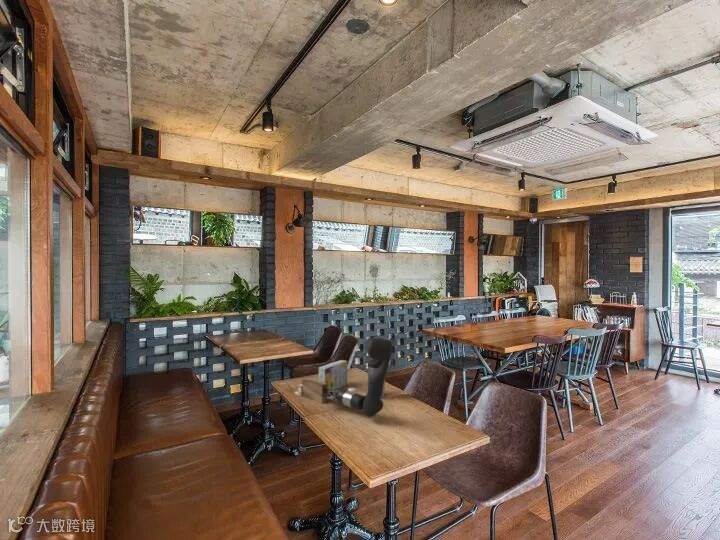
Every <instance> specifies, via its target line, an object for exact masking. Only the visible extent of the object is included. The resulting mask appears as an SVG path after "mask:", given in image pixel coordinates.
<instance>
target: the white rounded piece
mask: <svg viewBox="0 0 720 540" xmlns="http://www.w3.org/2000/svg"><path fill="white" fill-rule="evenodd" d="M347 390H349V391H352V392H354V393H357V388H356V387H349V388H347Z"/></svg>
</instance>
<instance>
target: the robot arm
mask: <svg viewBox="0 0 720 540" xmlns="http://www.w3.org/2000/svg"><path fill="white" fill-rule="evenodd" d="M364 345H365V347H364V348H365V352H366V353H367V355H368V357H369V358H370V359H369V360H368V361H367V392H366V395H363V394H359V393H357V392H356V393H354V392H352V391H349V390H348V389H345V388H338V389H334V390H332V389H331V390H329V389H324V393H325V394H327V401H330V400H331V399H332V400H335V401H337V403H338V404H340V405H343V406H346V407H347V408H348V407H349V408H352V409H356V410H358V411H359V410H360V411H362V410H363V411H362V412H363V414H364V415H365V416H366V417H369V418H371V417H373V416H375V415H377V413H380V412H381V411H382V410H383V407H384V403H383V400H382V398H384V397H385V395H386V394H385V392H386V391H385V388H386V387H385V384H386V383H385V382H386V379H385V378H386V376H387V373H388V368H389V366H390V362H391V358H392V353H393V343H392V341H391V340H390V339H384V337H369V338H367V339H366V341H365V344H364Z"/></svg>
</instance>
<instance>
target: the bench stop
mask: <svg viewBox="0 0 720 540" xmlns="http://www.w3.org/2000/svg"><path fill="white" fill-rule="evenodd" d="M294 395H296V396H299V397H303V380H301V383H300V384H298V385H297V391H294Z"/></svg>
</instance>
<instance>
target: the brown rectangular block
mask: <svg viewBox="0 0 720 540" xmlns="http://www.w3.org/2000/svg"><path fill="white" fill-rule="evenodd" d="M302 381H303V396H302V397H303V398H306V399H309V400H311V401H313V402H317V403H319V404H324V403H327V402H328V400H327V394H325V393H324V389H327V383H324V382H321V381H319V379H314V378H311V377H304V378H302Z"/></svg>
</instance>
